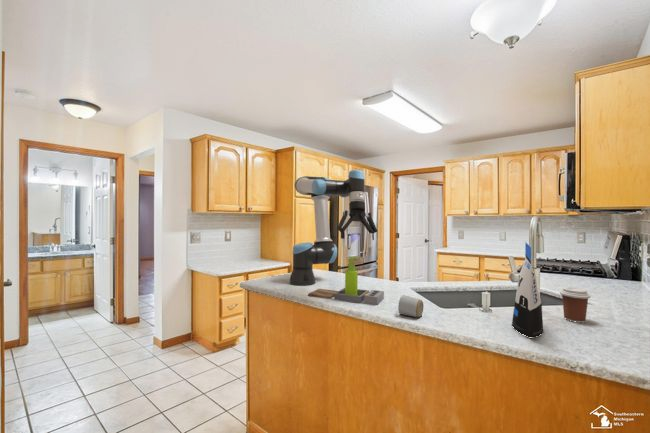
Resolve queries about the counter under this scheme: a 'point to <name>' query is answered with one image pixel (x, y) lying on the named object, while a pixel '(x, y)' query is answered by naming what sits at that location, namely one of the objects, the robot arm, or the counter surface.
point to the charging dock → (361, 296)
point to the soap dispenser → (351, 278)
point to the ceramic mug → (410, 306)
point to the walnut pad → (323, 293)
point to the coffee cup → (575, 303)
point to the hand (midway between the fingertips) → (357, 246)
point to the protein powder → (527, 301)
